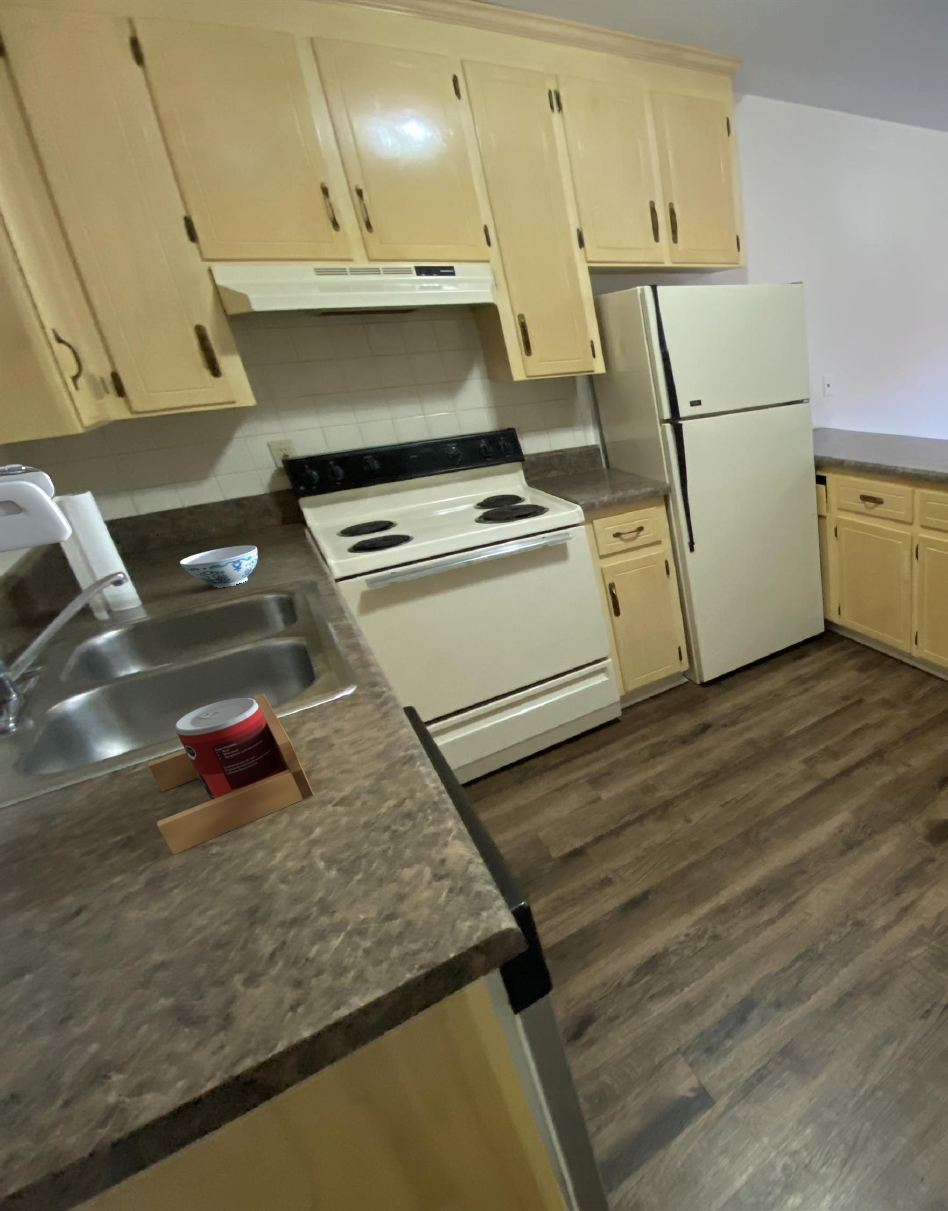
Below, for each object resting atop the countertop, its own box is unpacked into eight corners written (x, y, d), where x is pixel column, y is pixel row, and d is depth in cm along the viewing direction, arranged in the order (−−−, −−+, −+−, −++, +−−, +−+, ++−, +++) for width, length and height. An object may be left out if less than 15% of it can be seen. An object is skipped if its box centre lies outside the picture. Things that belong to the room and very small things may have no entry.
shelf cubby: (173, 855, 73) (140, 796, 70) (161, 788, 85) (133, 735, 82) (313, 795, 81) (290, 740, 78) (284, 742, 93) (263, 692, 90)
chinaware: (282, 572, 173) (271, 544, 170) (229, 593, 159) (216, 563, 156) (233, 573, 175) (221, 546, 172) (176, 594, 161) (162, 565, 158)
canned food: (236, 774, 87) (201, 702, 82) (301, 765, 88) (270, 693, 84) (196, 812, 80) (155, 735, 75) (267, 801, 81) (232, 725, 76)
